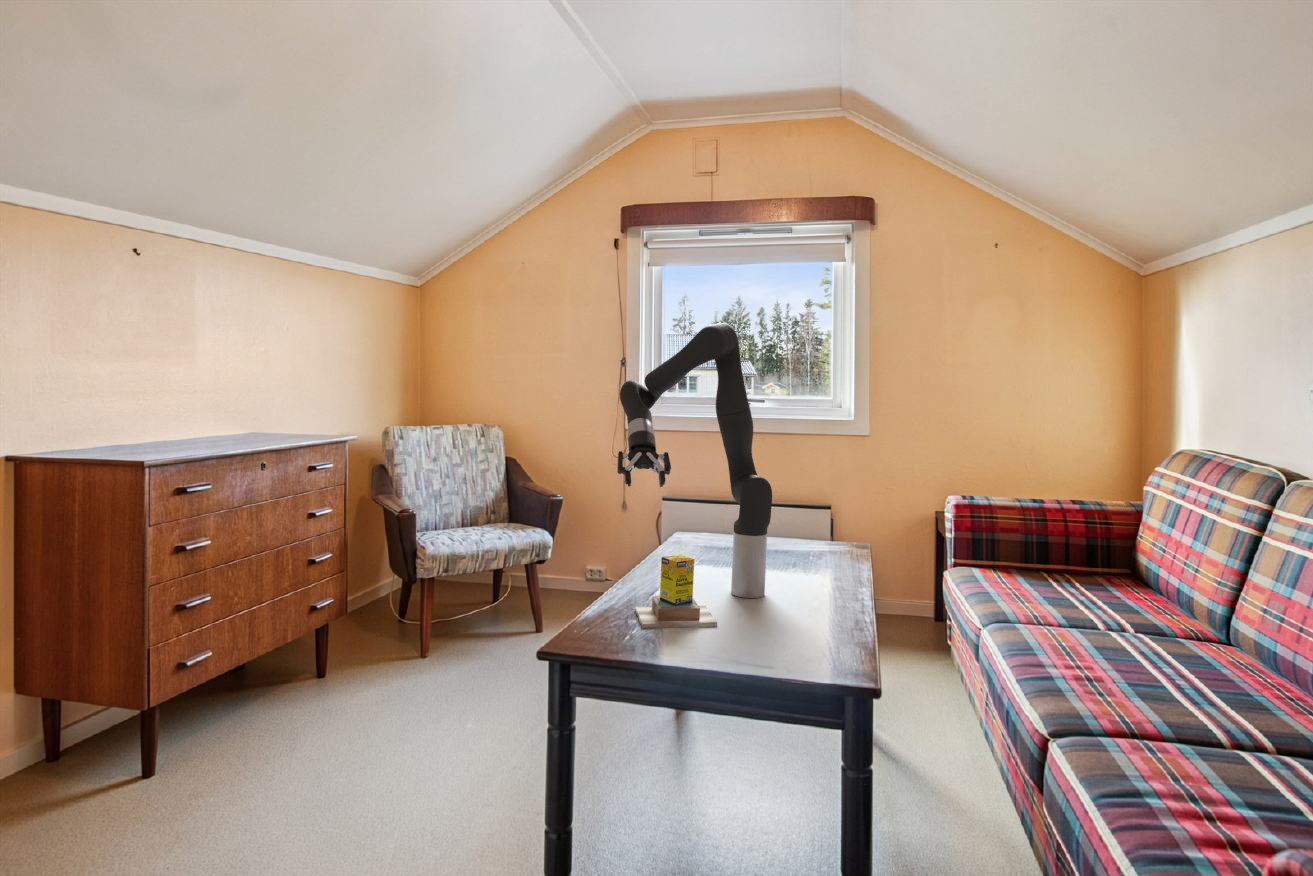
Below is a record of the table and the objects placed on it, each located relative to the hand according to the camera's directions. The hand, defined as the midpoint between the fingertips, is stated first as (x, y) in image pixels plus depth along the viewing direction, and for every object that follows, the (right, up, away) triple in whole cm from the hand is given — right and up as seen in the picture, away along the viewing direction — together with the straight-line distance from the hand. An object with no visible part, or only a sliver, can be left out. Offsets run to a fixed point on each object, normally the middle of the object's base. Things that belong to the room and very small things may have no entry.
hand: (645, 484), depth 187 cm
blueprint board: (+7, -32, -13) cm, 35 cm away
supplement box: (+8, -28, -13) cm, 32 cm away
